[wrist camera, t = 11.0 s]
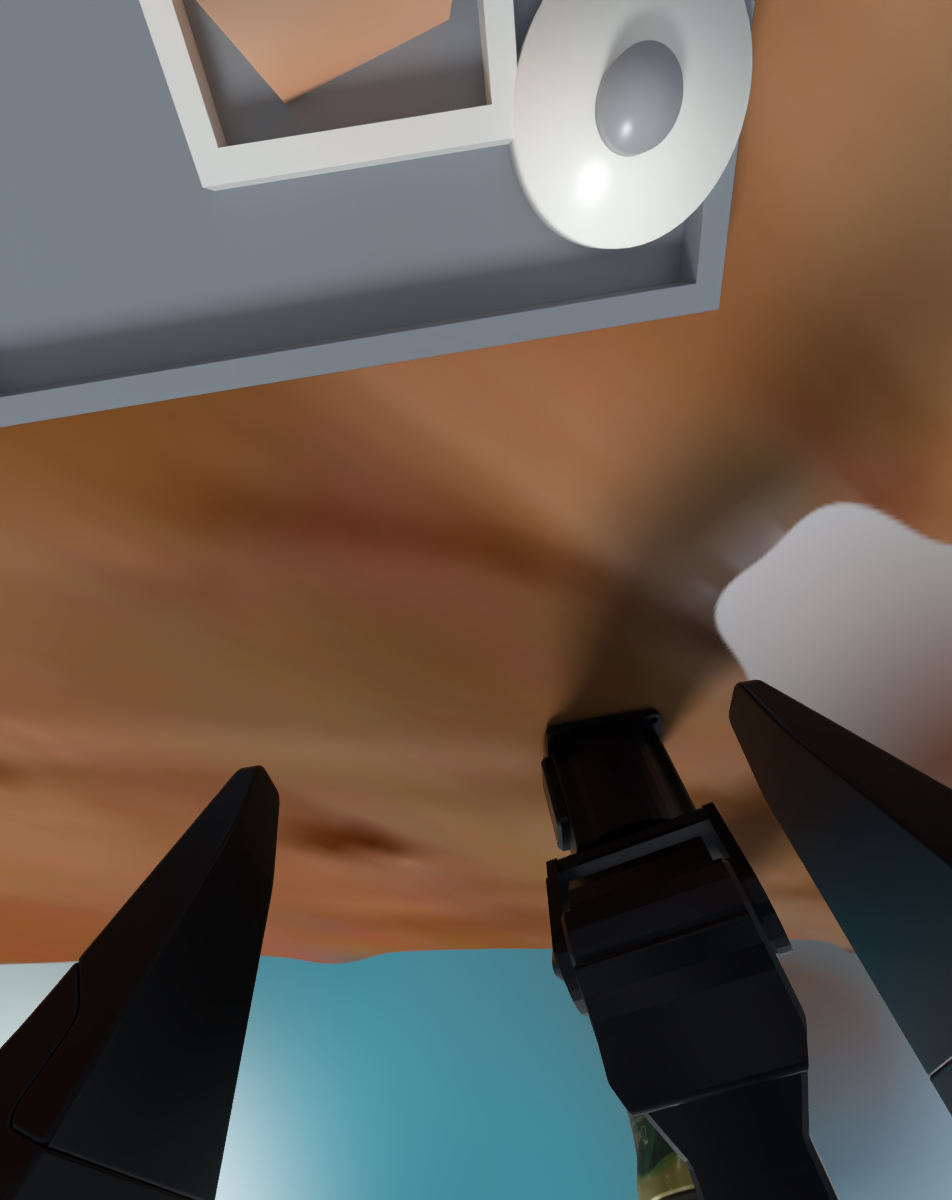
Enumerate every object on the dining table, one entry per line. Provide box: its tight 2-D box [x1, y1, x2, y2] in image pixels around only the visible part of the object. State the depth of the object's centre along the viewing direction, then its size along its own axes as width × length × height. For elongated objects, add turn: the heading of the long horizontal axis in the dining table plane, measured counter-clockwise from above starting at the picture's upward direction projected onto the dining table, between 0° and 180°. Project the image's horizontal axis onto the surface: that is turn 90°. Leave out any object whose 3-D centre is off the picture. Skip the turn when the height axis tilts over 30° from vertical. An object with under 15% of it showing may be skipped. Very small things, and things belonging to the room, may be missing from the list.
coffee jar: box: [627, 1110, 699, 1200], centre depth 38 cm, size 10×8×19 cm
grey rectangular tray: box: [0, 0, 755, 427], centre depth 13 cm, size 24×14×3 cm, turn 98°
